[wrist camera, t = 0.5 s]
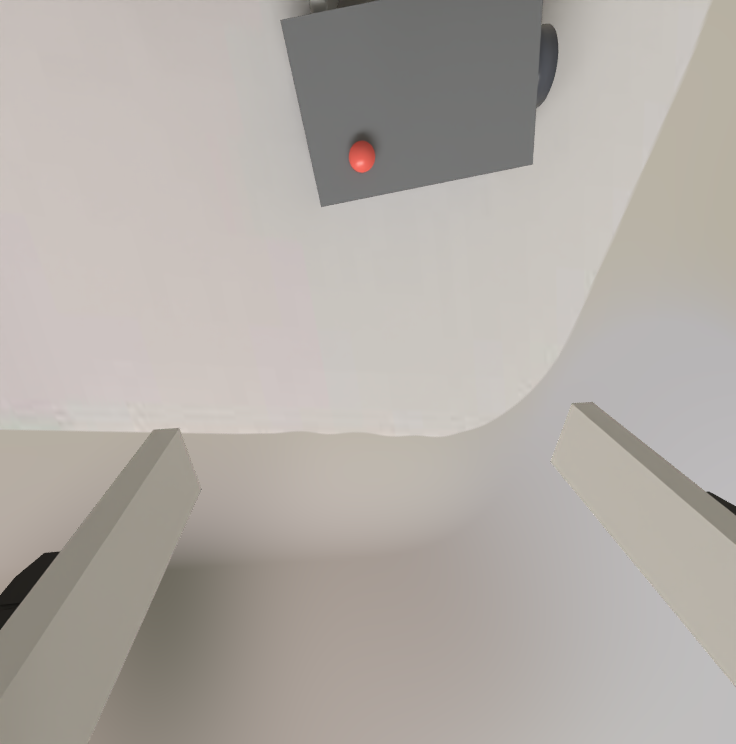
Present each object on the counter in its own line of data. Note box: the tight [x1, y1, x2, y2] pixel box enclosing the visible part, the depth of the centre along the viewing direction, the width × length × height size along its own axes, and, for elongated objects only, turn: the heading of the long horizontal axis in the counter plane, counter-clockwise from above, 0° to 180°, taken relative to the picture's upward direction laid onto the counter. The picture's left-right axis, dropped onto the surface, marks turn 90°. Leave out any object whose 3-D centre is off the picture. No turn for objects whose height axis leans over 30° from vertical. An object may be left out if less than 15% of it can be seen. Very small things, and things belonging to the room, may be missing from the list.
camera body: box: [280, 0, 558, 207], centre depth 24 cm, size 10×18×8 cm, turn 100°
